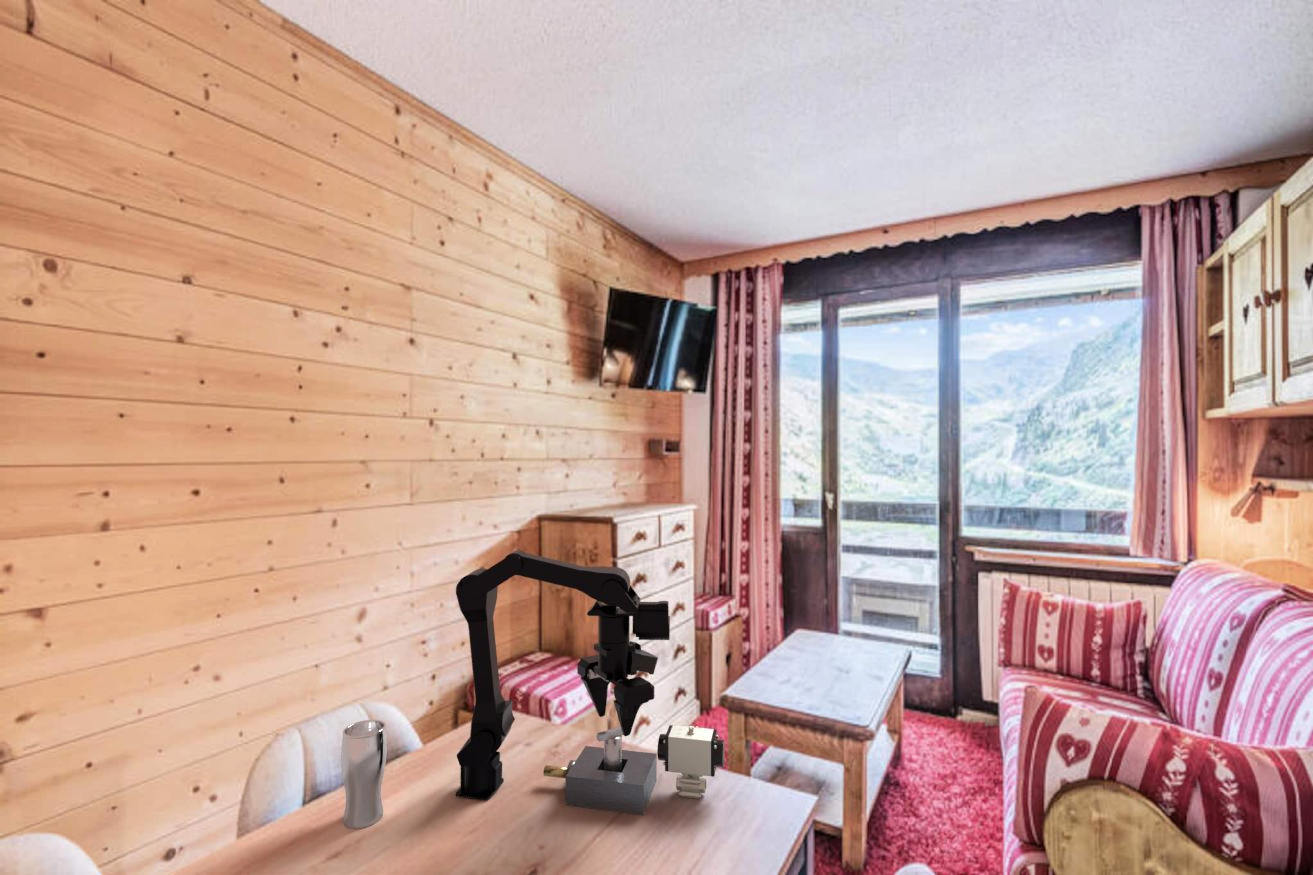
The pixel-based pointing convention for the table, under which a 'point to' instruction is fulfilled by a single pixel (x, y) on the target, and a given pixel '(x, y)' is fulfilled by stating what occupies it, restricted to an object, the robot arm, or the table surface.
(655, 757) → the block
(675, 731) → the pneumatic valve
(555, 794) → the table surface
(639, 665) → the robot arm
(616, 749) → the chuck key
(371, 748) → the beer glass
